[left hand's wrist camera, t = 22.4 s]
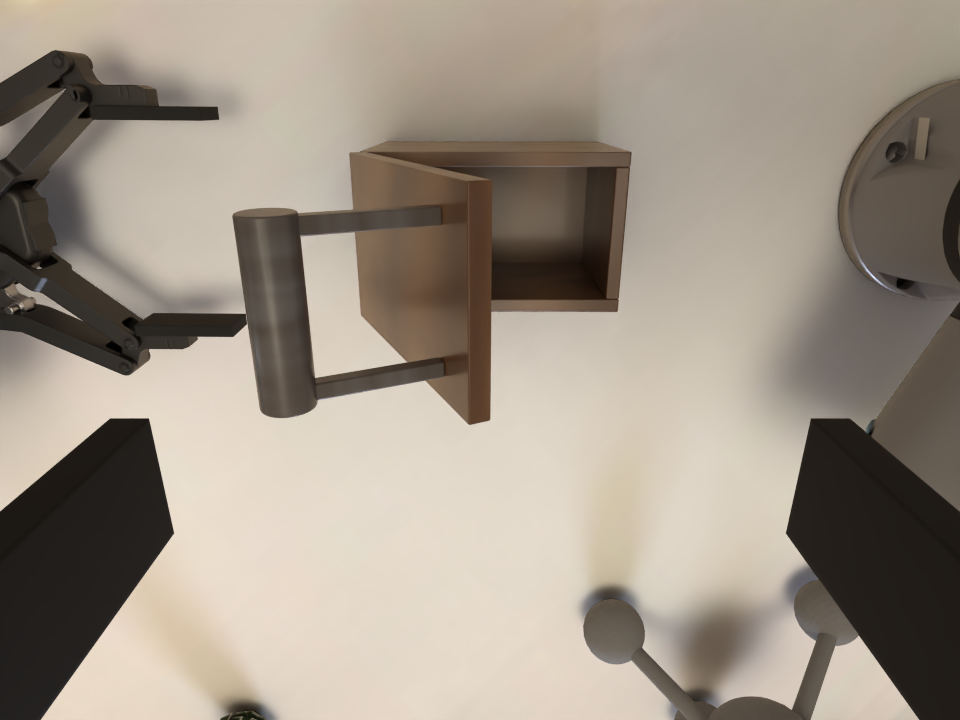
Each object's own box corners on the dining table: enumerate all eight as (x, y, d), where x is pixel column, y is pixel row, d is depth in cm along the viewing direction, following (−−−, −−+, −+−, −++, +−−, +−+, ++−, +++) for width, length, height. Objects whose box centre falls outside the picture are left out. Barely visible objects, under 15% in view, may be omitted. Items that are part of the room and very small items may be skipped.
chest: (598, 141, 45) (631, 152, 35) (589, 270, 48) (617, 312, 39) (385, 141, 45) (359, 151, 35) (392, 270, 48) (370, 311, 39)
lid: (493, 179, 22) (236, 193, 18) (491, 420, 25) (274, 468, 22) (366, 151, 35) (202, 156, 31) (376, 313, 38) (230, 333, 35)
